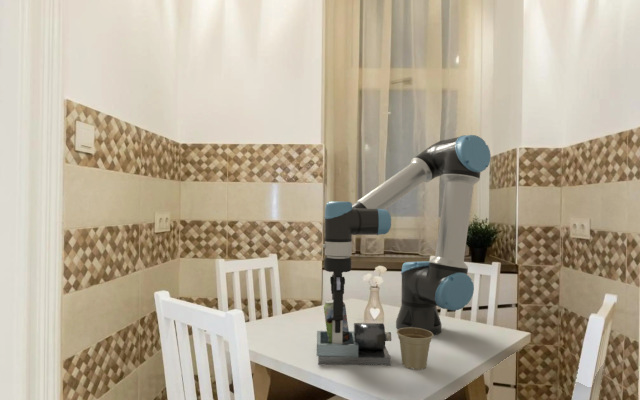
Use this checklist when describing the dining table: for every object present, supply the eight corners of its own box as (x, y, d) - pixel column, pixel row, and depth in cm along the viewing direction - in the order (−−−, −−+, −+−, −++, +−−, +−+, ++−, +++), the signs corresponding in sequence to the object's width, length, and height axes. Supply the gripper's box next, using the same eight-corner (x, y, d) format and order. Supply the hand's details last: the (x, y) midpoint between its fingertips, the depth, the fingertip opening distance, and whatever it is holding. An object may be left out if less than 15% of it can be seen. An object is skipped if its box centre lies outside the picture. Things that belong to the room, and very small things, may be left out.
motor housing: (386, 348, 121) (386, 317, 121) (394, 365, 108) (394, 331, 108) (316, 347, 121) (317, 316, 121) (316, 364, 108) (316, 330, 108)
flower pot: (439, 365, 109) (439, 332, 109) (422, 376, 102) (422, 340, 102) (407, 356, 115) (408, 325, 115) (389, 365, 108) (389, 332, 108)
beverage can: (348, 347, 111) (348, 303, 111) (321, 345, 112) (321, 301, 112) (350, 340, 117) (351, 298, 117) (325, 338, 118) (326, 296, 118)
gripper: (324, 252, 124) (323, 328, 124) (324, 261, 105) (323, 351, 105) (348, 252, 124) (347, 329, 124) (354, 261, 105) (352, 352, 105)
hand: (336, 339), depth 114 cm, fingers closed on beverage can, 6 cm apart
